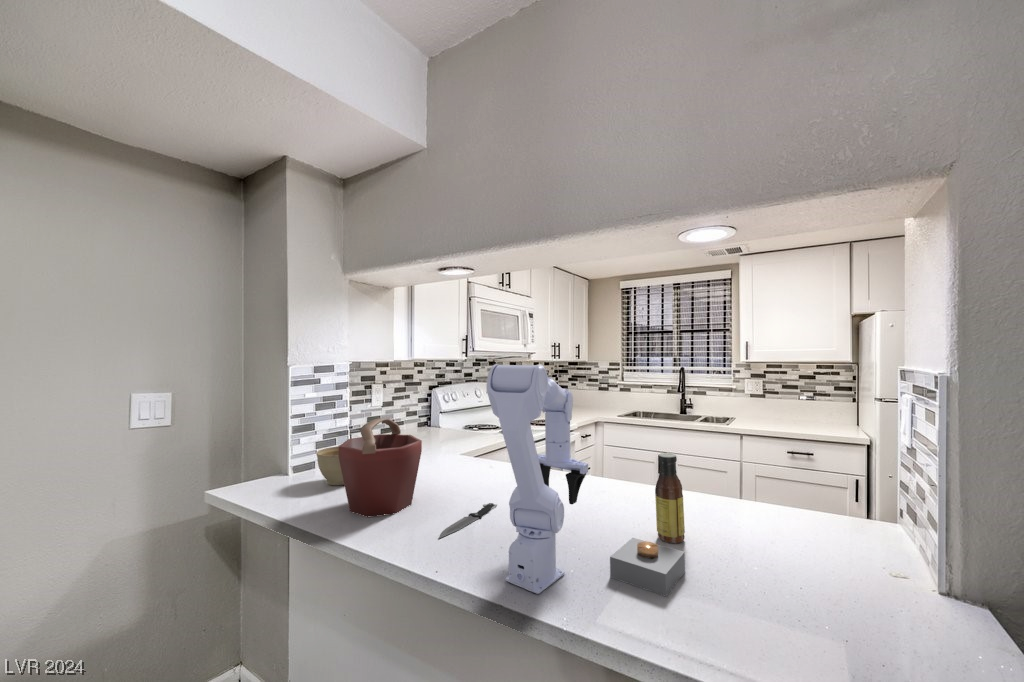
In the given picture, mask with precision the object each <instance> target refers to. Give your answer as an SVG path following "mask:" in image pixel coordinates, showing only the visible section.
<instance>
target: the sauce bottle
mask: <svg viewBox="0 0 1024 682" xmlns="http://www.w3.org/2000/svg"><path fill="white" fill-rule="evenodd" d="M657 459H658V462H659V473H658V478H657V481H656V484H655V489H654V490H655V491H654V492H655V493H654V494H655V495H654V496H655V515H656V516H655V517H656V532H657V536H658V538H659V539H660V540H661V541H662V542H663V541H664V543H668V544H680V543H682V542H684V541H685V539H686V538H685V532H686V531H685V511H684V495H683V486H682V483H681V479H679V476H678V474H677V460H678V459H677V455H676V454H675V453H669V452H661V453H659V454H658V458H657Z"/></svg>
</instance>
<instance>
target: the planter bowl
mask: <svg viewBox="0 0 1024 682" xmlns="http://www.w3.org/2000/svg"><path fill="white" fill-rule="evenodd" d="M339 446H340V445H338V446H337V445H336V446H330V447H325V448H322V449H319V450H318V451H316V457H317V460H316V461H317V466H318V470H319V471H320V473H321V475H322V476H323V478H324V479H325V480H326V483H327V484H328V485H330V486H345V485H344V480H343V476H342V471H341V466H340V461H339Z"/></svg>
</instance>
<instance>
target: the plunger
mask: <svg viewBox="0 0 1024 682" xmlns="http://www.w3.org/2000/svg"><path fill="white" fill-rule="evenodd" d="M656 544H657V543H654V542H651V541H647V540H643V542H639V543H638V544H637V553H638V554H639V555H641V556H643V557H646V558H649V559H651V558H653V557H657V556H658V546H657V545H656Z"/></svg>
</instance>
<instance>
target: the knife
mask: <svg viewBox="0 0 1024 682" xmlns="http://www.w3.org/2000/svg"><path fill="white" fill-rule="evenodd" d="M482 506H483V507H482V508H481V509H479V510H478V511H477V512H471V513H469V514H468V516H463V517H462V518H460V519H459V520H457V521H455V522H454V523H452V524H451V525H449V526H447V527H446V528H444V529H443V531H441V532H440V535H439V537H438V539H441V538H443V537H446V536H448V535H451V534H452V533H455V532H457V531H459V530H461V529H463V528H465V527H467V526H468V525H470V524H471V523H473V522H475V521H477V520H482V518H483V516H485V515H487V514H489V512H491V510H493V509H495V508H497V506H498V504H494V503H493V502H492V503H491V502H489V503H486V504H485V503H484V504H483V505H482Z"/></svg>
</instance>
